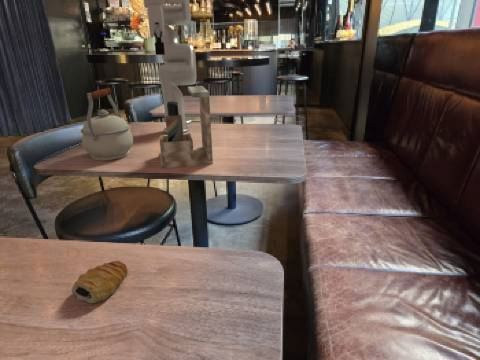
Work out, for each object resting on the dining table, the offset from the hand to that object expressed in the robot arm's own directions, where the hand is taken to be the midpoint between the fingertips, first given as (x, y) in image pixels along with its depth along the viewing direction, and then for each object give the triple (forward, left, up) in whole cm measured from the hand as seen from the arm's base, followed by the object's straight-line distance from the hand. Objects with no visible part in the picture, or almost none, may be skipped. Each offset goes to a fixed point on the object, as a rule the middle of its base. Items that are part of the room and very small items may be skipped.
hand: (160, 54), depth 118 cm
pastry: (+67, +50, -37) cm, 91 cm away
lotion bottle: (+9, +13, -36) cm, 39 cm away
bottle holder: (+7, +15, -36) cm, 40 cm away
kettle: (+18, -14, -36) cm, 43 cm away
